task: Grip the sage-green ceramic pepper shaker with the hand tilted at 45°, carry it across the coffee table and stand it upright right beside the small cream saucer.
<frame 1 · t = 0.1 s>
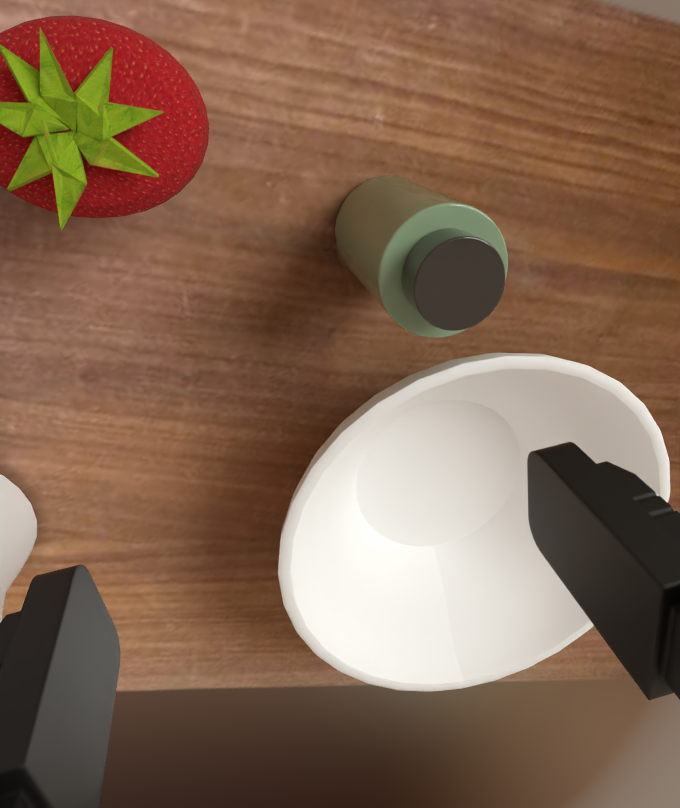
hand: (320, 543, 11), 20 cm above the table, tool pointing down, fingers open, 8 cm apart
bowl: (434, 468, 36), on the table
pepper shaker: (385, 230, 29), on the table
strawberry: (111, 117, 25), on the table
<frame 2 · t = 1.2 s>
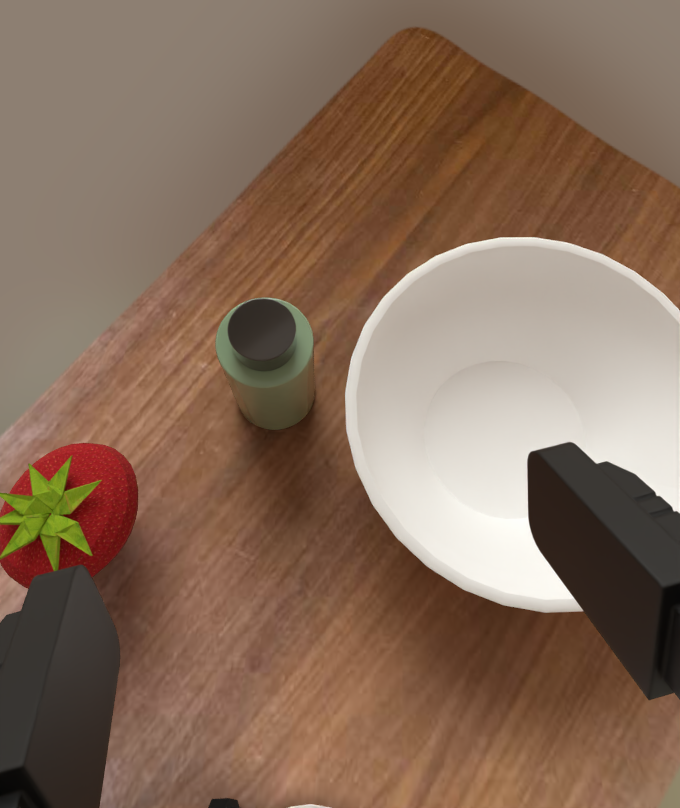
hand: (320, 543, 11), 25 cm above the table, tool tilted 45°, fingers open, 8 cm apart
bowl: (500, 440, 38), on the table
pepper shaker: (275, 392, 38), on the table
strawberry: (107, 527, 36), on the table
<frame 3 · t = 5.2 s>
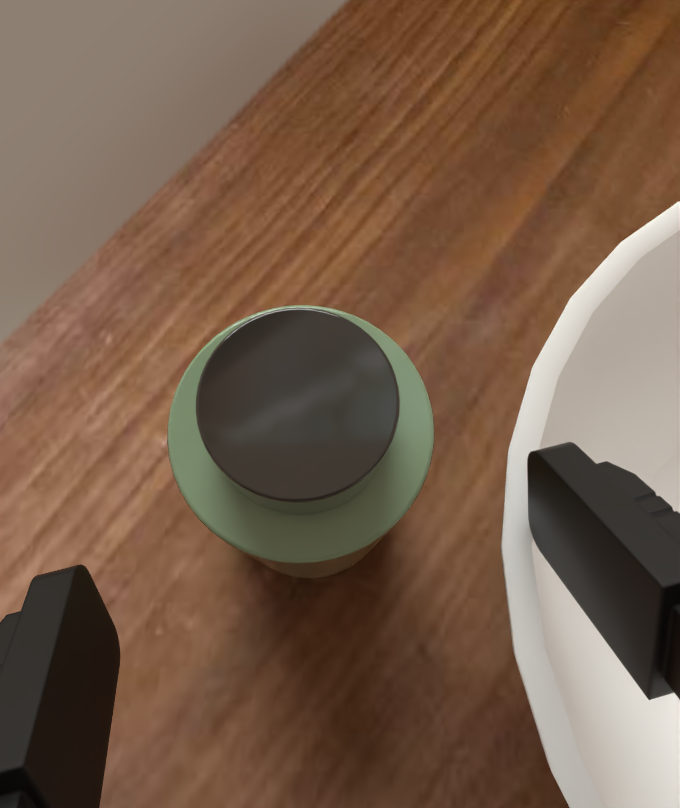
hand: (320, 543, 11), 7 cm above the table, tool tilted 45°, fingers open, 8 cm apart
pepper shaker: (310, 495, 19), on the table
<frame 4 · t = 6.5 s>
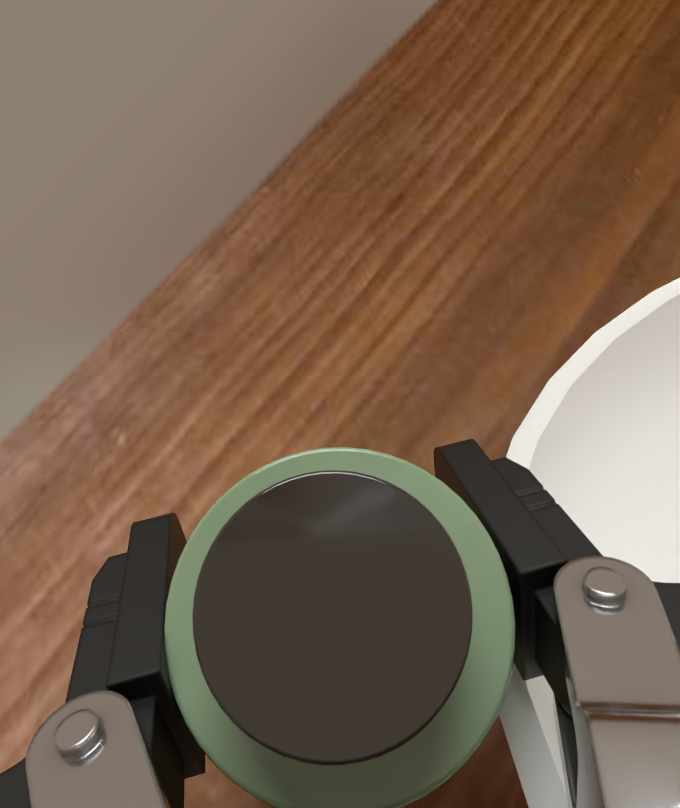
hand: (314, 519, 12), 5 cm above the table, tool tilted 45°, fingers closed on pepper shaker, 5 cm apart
pepper shaker: (353, 633, 16), on the table, tilted 5°, touching gripper
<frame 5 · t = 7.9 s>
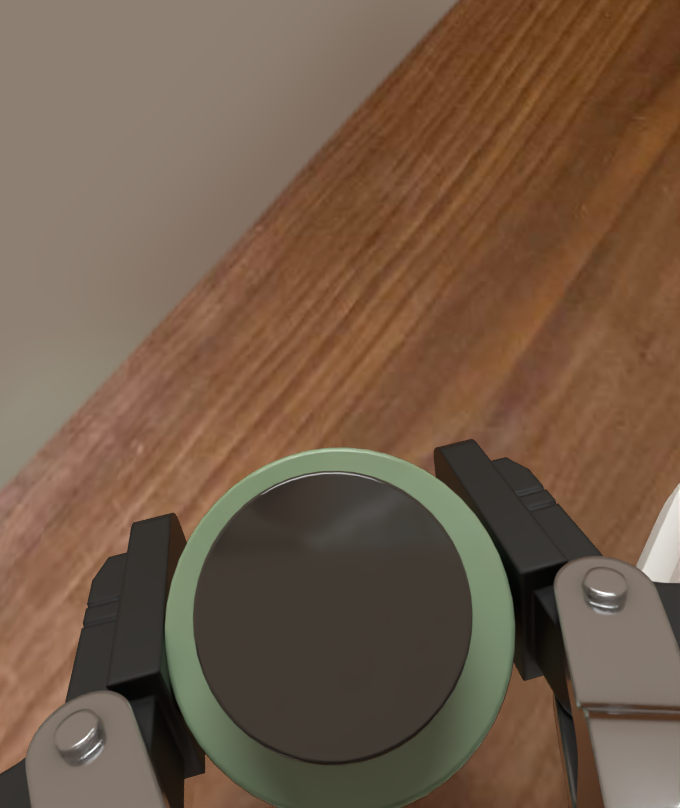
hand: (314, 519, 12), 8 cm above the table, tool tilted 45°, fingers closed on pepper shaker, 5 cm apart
pepper shaker: (353, 633, 16), point 3 cm above the table, tilted 6°, touching gripper
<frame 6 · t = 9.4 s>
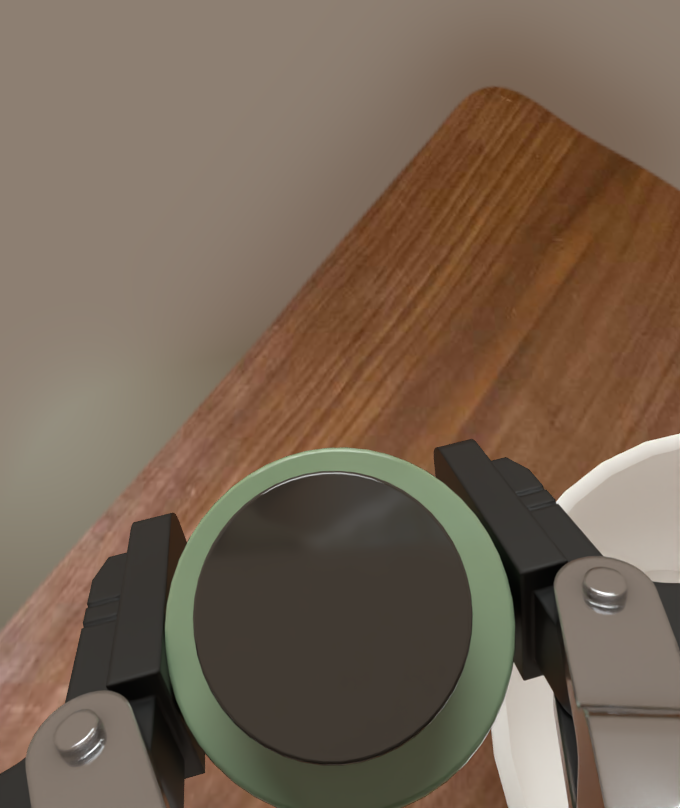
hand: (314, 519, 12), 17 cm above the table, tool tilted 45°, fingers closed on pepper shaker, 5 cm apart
bowl: (670, 684, 27), on the table
pepper shaker: (353, 633, 16), point 12 cm above the table, tilted 6°, touching gripper
when the fingers open (5 cm above the table, at t = 20.1 s): pepper shaker stays where it is, on the table.
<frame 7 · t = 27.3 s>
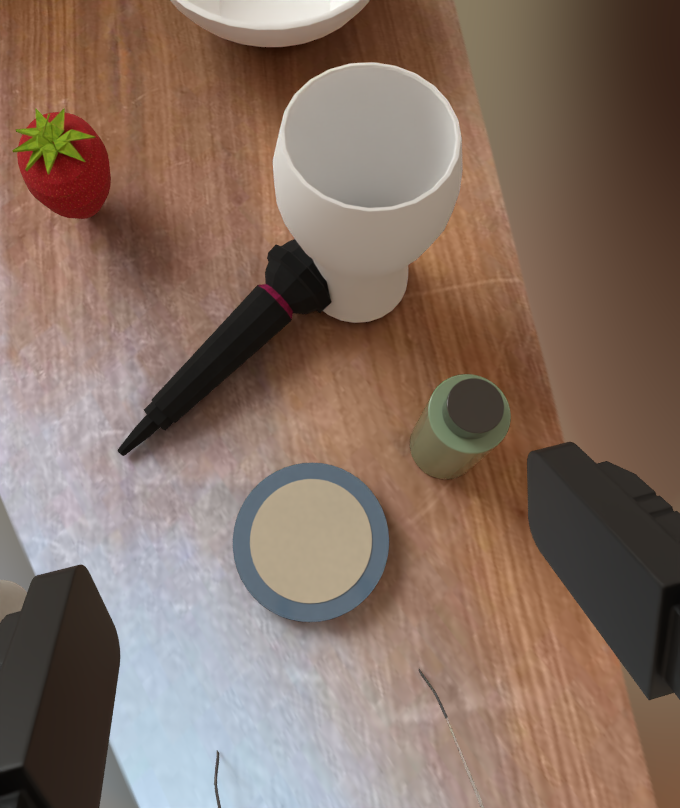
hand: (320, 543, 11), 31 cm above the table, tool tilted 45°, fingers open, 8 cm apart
cup: (356, 277, 47), on the table, touching microphone
eyeglasses: (342, 776, 37), on the table
bowl: (275, 13, 55), on the table
microphone: (228, 351, 45), on the table, touching cup
saucer: (311, 541, 41), on the table
pepper shaker: (443, 445, 43), on the table
strawberry: (93, 211, 48), on the table
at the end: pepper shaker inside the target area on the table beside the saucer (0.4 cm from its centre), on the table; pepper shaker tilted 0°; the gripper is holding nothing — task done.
